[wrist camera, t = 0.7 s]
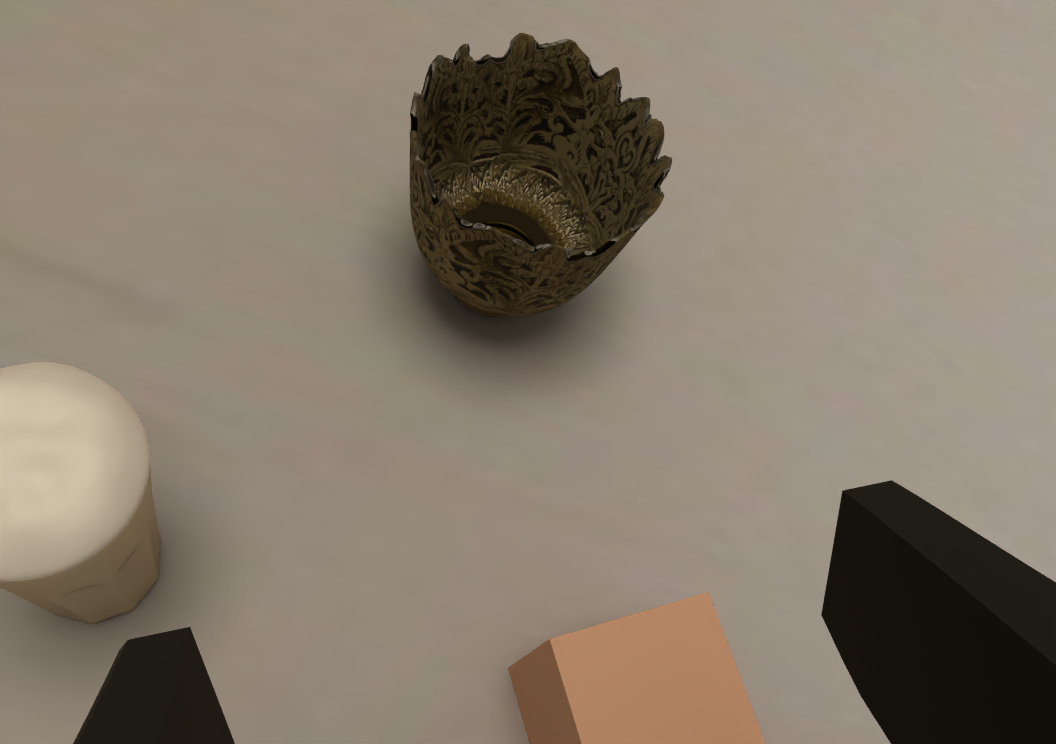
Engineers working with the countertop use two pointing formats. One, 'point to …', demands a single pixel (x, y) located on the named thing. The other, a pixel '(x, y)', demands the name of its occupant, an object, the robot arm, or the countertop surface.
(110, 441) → the milkshake
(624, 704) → the block
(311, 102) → the countertop surface
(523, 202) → the cup
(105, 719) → the robot arm
